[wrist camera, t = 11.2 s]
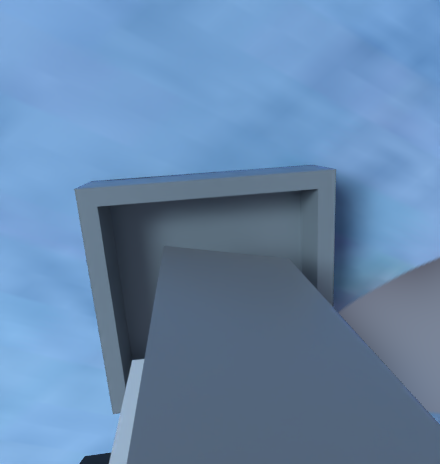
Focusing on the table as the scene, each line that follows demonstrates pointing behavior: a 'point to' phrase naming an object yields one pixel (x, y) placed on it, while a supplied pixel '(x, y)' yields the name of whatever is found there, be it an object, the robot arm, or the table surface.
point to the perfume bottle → (265, 374)
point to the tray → (195, 240)
